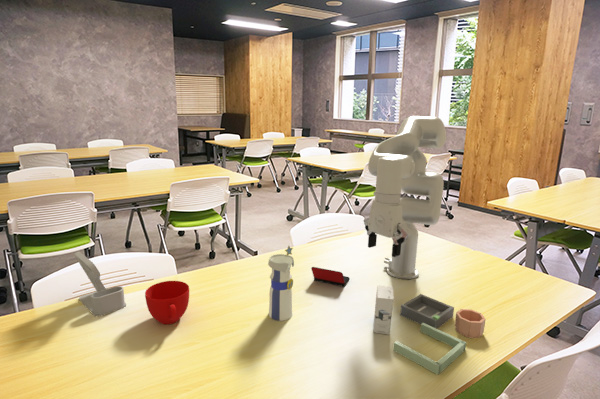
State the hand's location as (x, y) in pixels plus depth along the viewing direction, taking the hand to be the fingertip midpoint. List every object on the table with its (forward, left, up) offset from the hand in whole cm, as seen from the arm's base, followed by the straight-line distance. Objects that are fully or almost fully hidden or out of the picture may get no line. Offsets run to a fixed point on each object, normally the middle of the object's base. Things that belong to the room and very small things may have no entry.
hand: (383, 251), depth 121 cm
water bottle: (-21, -24, -22) cm, 39 cm away
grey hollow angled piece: (-66, -65, -22) cm, 96 cm away
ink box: (+5, -5, -22) cm, 23 cm away
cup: (+24, +13, -22) cm, 35 cm away
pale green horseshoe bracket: (+21, -5, -22) cm, 31 cm away
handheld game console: (-27, +6, -23) cm, 36 cm away
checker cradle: (+11, +11, -22) cm, 27 cm away
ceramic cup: (-40, -53, -22) cm, 70 cm away
